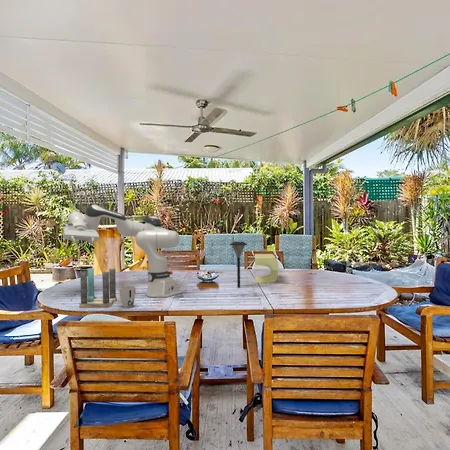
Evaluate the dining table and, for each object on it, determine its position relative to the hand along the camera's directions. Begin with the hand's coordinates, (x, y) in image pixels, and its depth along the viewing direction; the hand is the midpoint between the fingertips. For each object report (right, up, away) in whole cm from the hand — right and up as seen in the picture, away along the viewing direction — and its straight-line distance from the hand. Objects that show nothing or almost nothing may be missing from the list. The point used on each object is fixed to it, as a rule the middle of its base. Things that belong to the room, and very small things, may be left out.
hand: (83, 242), depth 203 cm
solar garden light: (+92, -31, +25) cm, 100 cm away
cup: (+32, -33, -21) cm, 50 cm away
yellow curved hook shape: (+113, -30, +50) cm, 127 cm away
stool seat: (+15, -32, -16) cm, 39 cm away
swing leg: (+10, -30, -14) cm, 34 cm away
